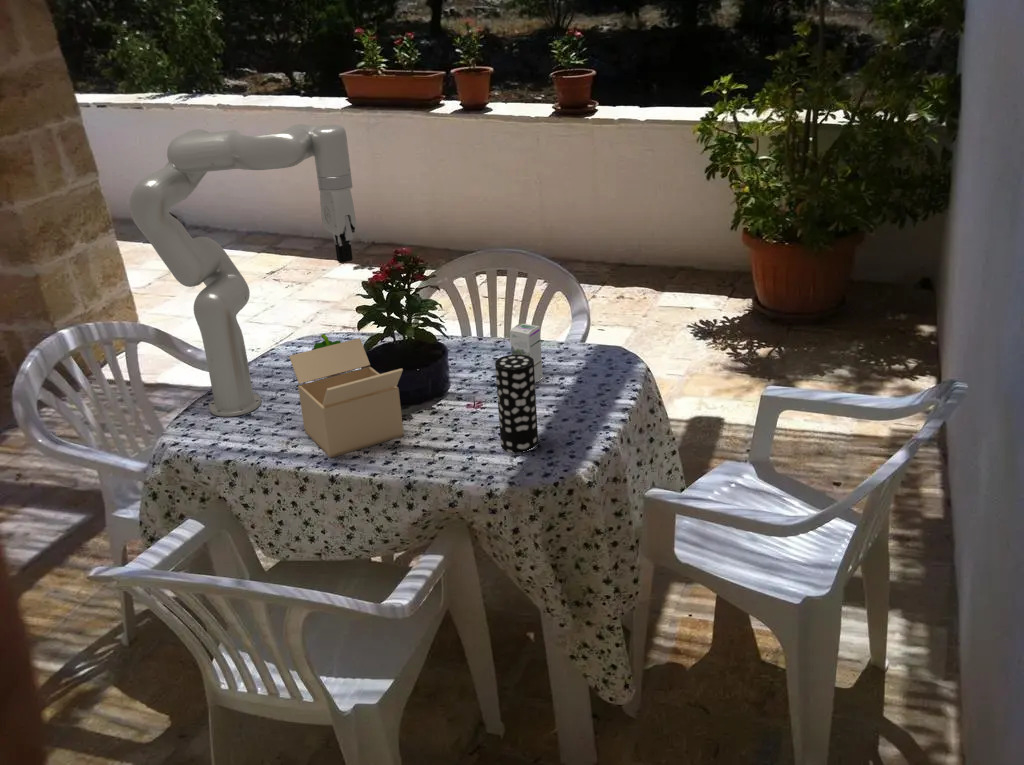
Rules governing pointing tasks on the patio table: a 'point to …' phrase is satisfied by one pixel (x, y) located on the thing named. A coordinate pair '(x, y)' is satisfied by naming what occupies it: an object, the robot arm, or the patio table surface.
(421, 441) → the patio table surface
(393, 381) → the cardboard box flap
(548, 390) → the patio table surface
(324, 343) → the bell pepper
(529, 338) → the syrup box
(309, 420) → the carton
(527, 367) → the spotted tube
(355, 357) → the flap
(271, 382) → the patio table surface
